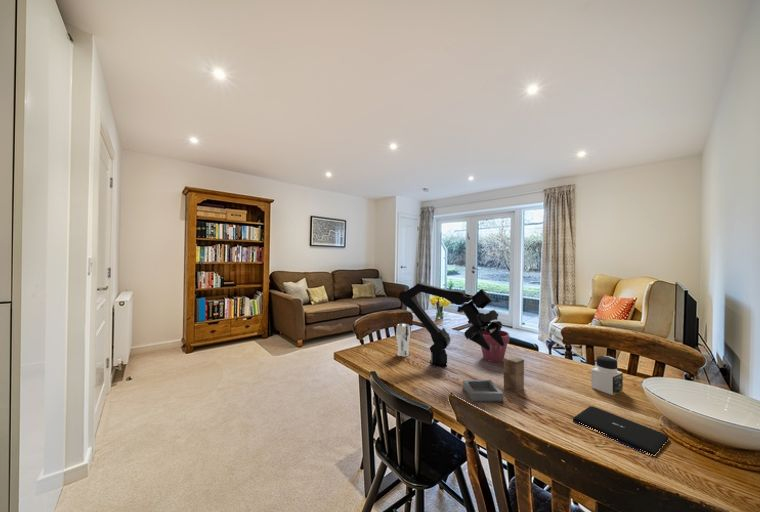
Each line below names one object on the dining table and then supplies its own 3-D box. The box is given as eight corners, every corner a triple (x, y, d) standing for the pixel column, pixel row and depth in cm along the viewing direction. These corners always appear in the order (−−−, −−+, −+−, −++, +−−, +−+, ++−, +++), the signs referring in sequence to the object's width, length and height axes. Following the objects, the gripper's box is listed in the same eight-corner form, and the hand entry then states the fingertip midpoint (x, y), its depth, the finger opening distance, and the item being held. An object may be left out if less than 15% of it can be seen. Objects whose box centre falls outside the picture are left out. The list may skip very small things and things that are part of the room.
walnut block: (503, 387, 107) (503, 358, 107) (511, 383, 110) (511, 355, 110) (516, 392, 103) (516, 362, 103) (523, 388, 106) (523, 359, 106)
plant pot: (472, 358, 136) (472, 332, 136) (484, 351, 147) (484, 327, 147) (503, 366, 127) (503, 338, 127) (513, 358, 137) (513, 332, 137)
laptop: (646, 463, 68) (646, 455, 68) (564, 419, 87) (564, 413, 87) (679, 446, 75) (679, 438, 75) (595, 408, 93) (595, 402, 93)
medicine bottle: (613, 396, 100) (613, 362, 100) (590, 387, 107) (590, 355, 107) (623, 391, 104) (623, 358, 104) (600, 383, 110) (600, 352, 110)
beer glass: (411, 353, 144) (411, 324, 144) (408, 358, 137) (408, 327, 137) (398, 351, 146) (398, 322, 146) (394, 356, 139) (394, 326, 139)
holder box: (472, 402, 96) (472, 393, 96) (462, 388, 106) (463, 380, 106) (503, 402, 96) (503, 393, 96) (490, 387, 106) (490, 379, 106)
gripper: (470, 306, 112) (495, 341, 103) (498, 301, 122) (523, 333, 113) (454, 322, 119) (476, 356, 109) (483, 316, 129) (505, 347, 120)
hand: (496, 347), depth 113 cm, fingers open, 9 cm apart
